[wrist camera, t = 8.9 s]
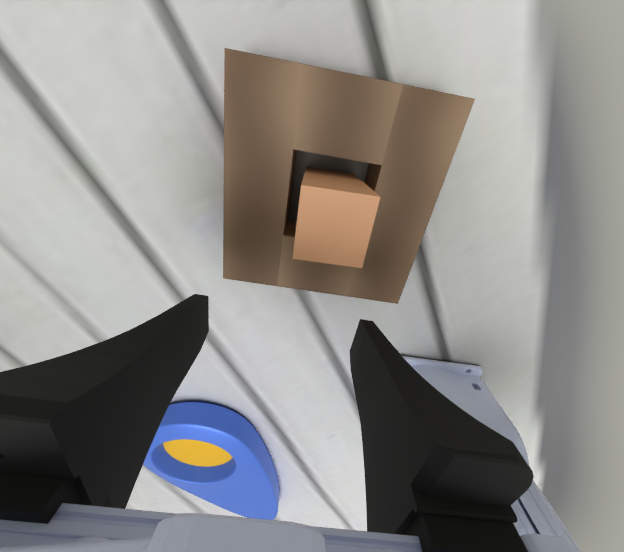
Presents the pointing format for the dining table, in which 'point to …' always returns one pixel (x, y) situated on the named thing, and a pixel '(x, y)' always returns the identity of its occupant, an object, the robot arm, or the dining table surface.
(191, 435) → the location marker
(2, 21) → the dining table surface
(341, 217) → the peg
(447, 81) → the dining table surface
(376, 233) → the socket block
